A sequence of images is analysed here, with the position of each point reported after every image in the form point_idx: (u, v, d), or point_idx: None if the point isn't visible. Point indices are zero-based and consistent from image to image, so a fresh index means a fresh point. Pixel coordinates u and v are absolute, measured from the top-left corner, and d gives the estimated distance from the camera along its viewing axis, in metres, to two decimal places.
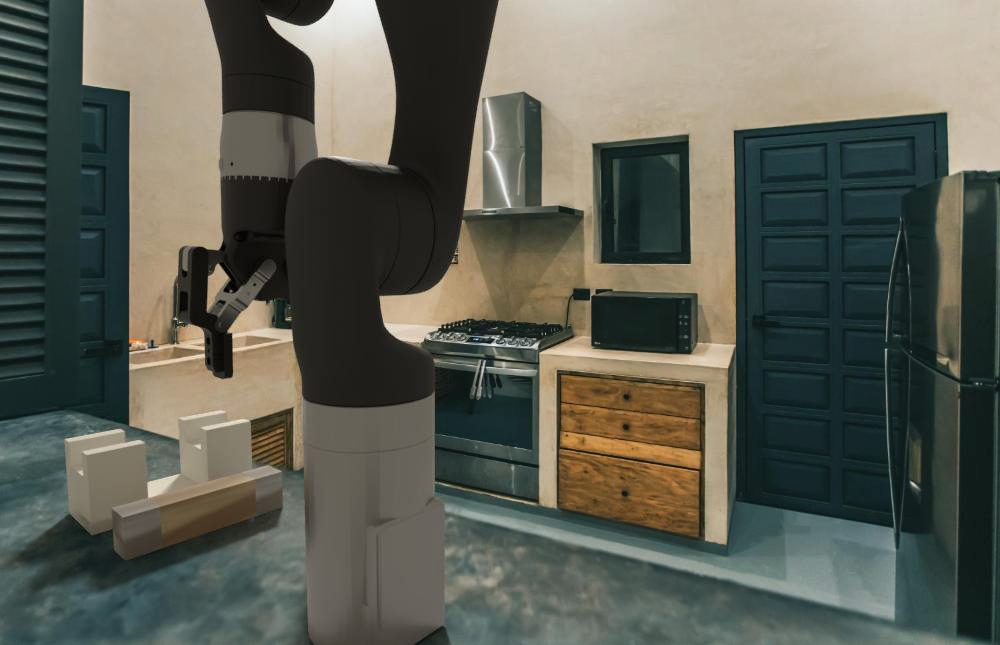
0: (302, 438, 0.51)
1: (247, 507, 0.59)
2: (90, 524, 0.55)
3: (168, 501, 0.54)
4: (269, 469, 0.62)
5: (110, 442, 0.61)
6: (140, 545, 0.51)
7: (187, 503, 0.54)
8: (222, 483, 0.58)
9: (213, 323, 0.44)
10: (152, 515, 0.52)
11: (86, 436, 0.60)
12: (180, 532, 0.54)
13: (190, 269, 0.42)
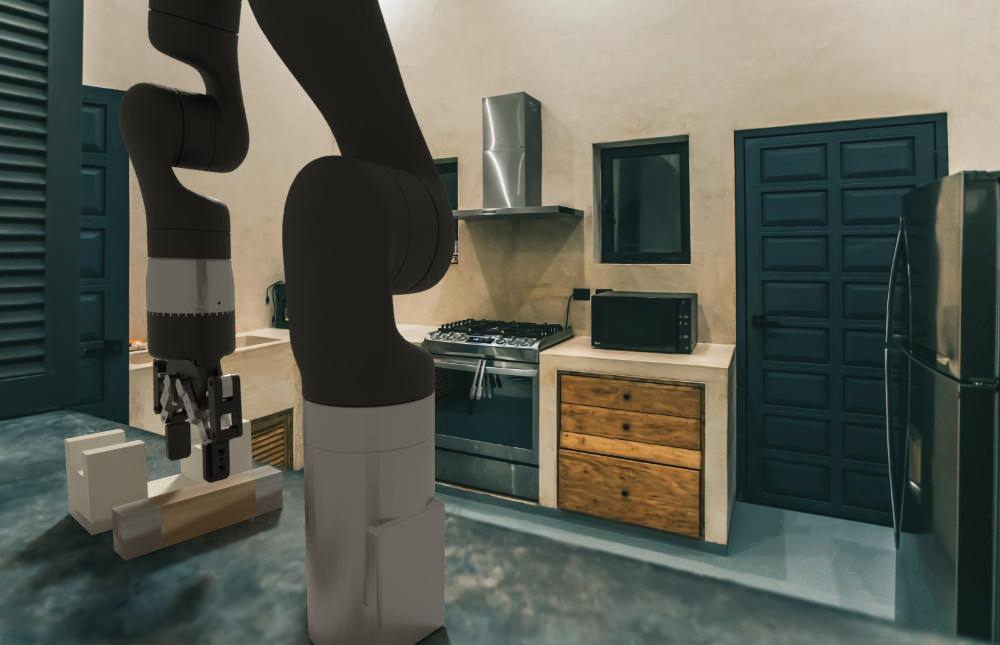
0: (302, 438, 0.51)
1: (247, 507, 0.59)
2: (90, 524, 0.55)
3: (168, 501, 0.54)
4: (269, 469, 0.62)
5: (110, 442, 0.61)
6: (140, 545, 0.51)
7: (187, 503, 0.54)
8: (222, 483, 0.58)
9: None
10: (152, 515, 0.52)
11: (86, 436, 0.60)
12: (180, 532, 0.54)
13: (238, 393, 0.52)
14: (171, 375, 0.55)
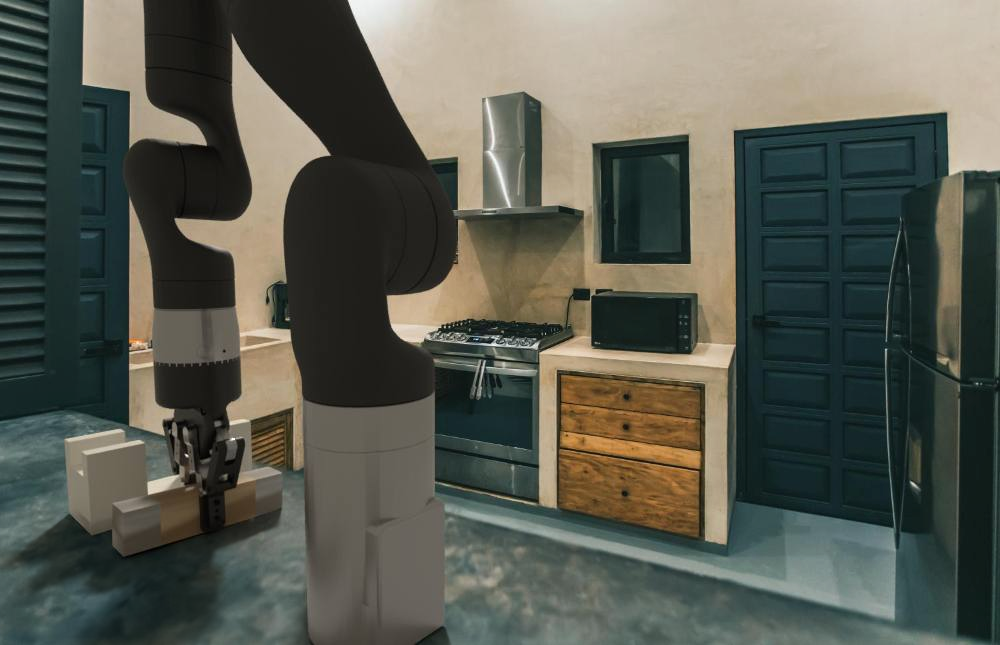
0: (302, 438, 0.51)
1: (247, 507, 0.59)
2: (90, 524, 0.55)
3: (169, 498, 0.54)
4: (270, 471, 0.62)
5: (110, 442, 0.61)
6: (139, 541, 0.51)
7: (188, 501, 0.54)
8: None
9: None
10: (152, 511, 0.52)
11: (86, 436, 0.60)
12: (179, 530, 0.54)
13: (240, 456, 0.53)
14: (177, 421, 0.56)
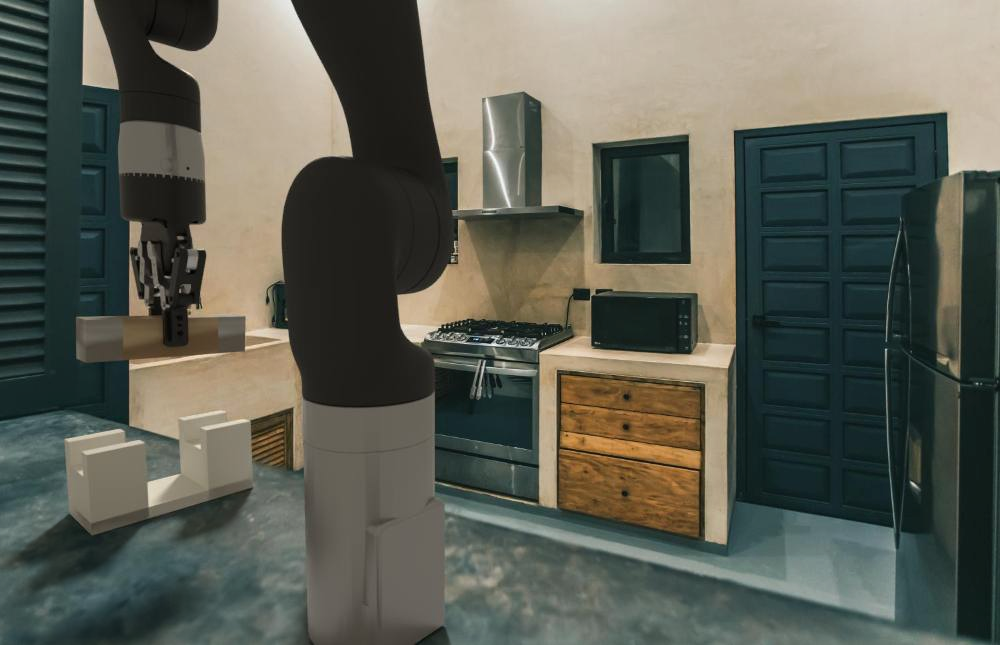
0: (302, 438, 0.51)
1: (209, 342, 0.61)
2: (90, 524, 0.55)
3: (131, 318, 0.56)
4: (233, 315, 0.64)
5: (110, 442, 0.61)
6: (101, 351, 0.54)
7: (150, 323, 0.57)
8: None
9: None
10: (115, 325, 0.54)
11: (86, 436, 0.60)
12: (142, 349, 0.56)
13: (202, 268, 0.56)
14: (142, 240, 0.58)
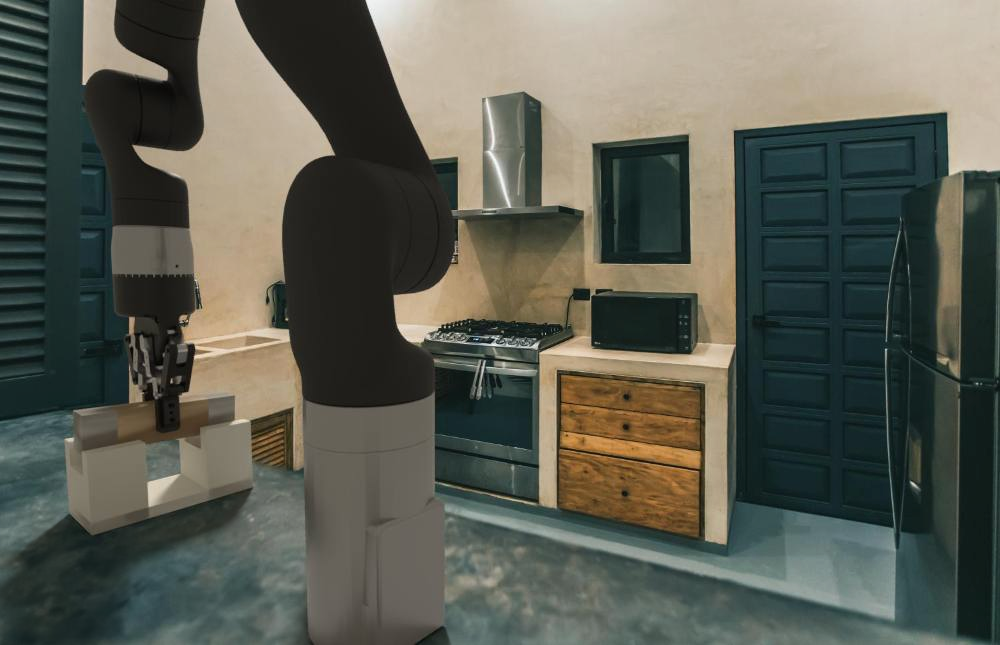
0: (302, 438, 0.51)
1: (200, 423, 0.64)
2: (90, 524, 0.55)
3: (125, 408, 0.59)
4: (223, 394, 0.68)
5: None
6: (97, 443, 0.57)
7: (143, 412, 0.60)
8: None
9: None
10: (109, 418, 0.57)
11: None
12: (135, 437, 0.59)
13: (191, 360, 0.59)
14: (135, 332, 0.61)
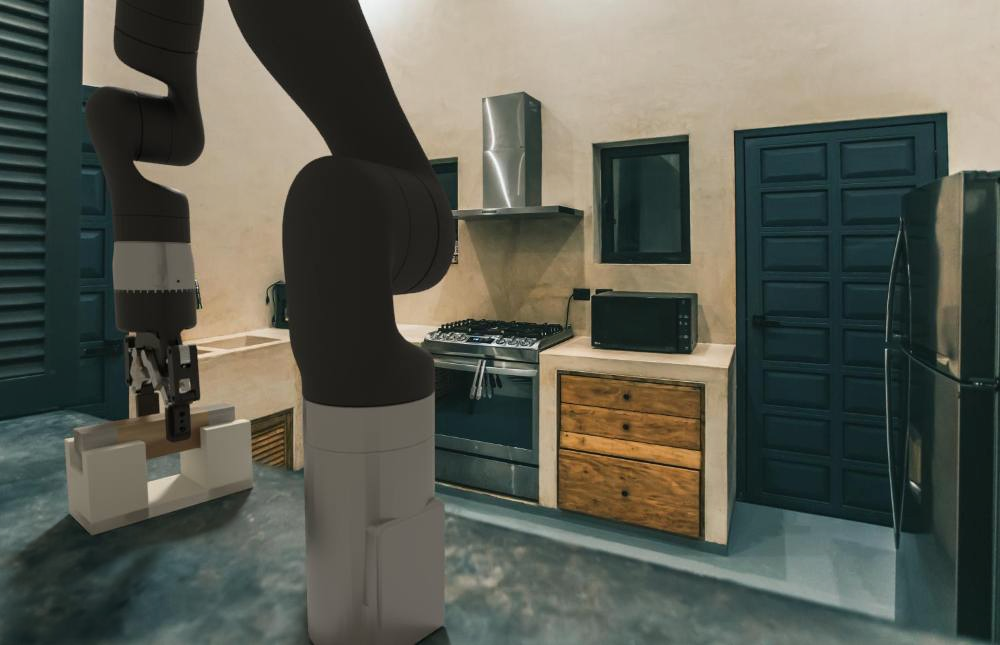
0: (302, 438, 0.51)
1: None
2: (90, 524, 0.55)
3: (125, 424, 0.59)
4: (223, 405, 0.68)
5: None
6: None
7: (143, 427, 0.60)
8: None
9: None
10: (110, 435, 0.58)
11: None
12: None
13: (195, 360, 0.58)
14: (138, 348, 0.61)
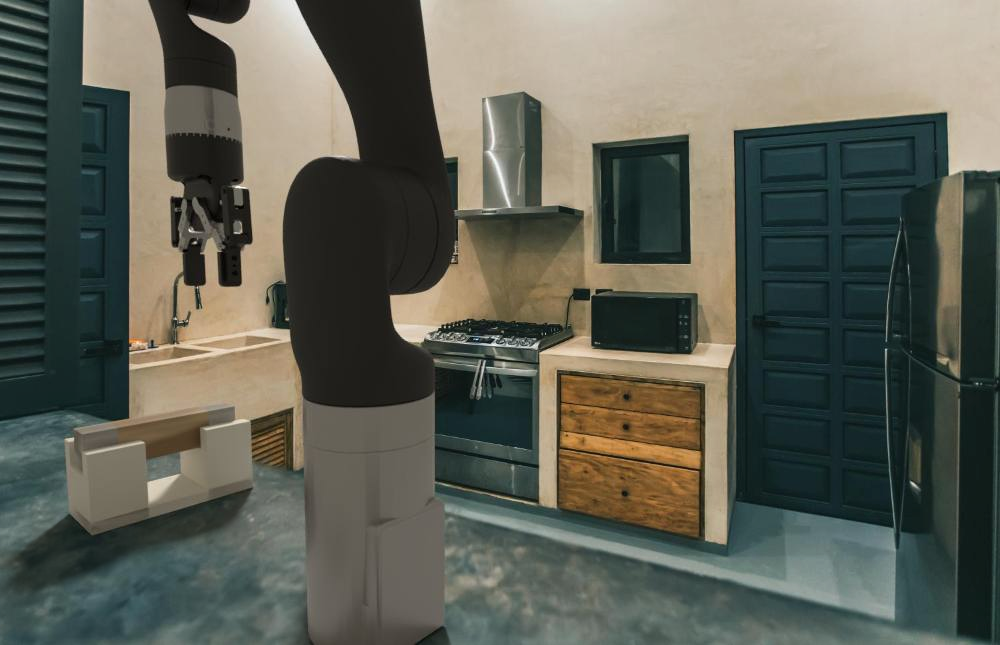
0: (302, 438, 0.51)
1: None
2: (90, 524, 0.55)
3: (125, 424, 0.59)
4: (223, 405, 0.68)
5: None
6: None
7: (143, 427, 0.60)
8: (177, 413, 0.64)
9: None
10: (110, 435, 0.58)
11: None
12: None
13: (248, 203, 0.59)
14: (187, 199, 0.62)
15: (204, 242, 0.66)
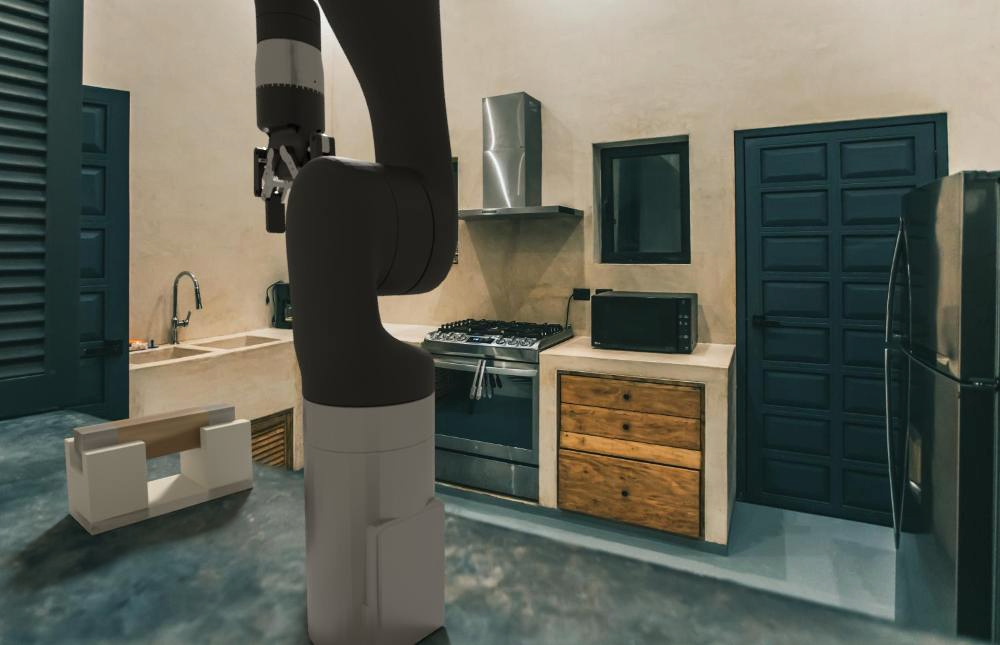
0: (302, 438, 0.51)
1: None
2: (90, 524, 0.55)
3: (125, 424, 0.59)
4: (223, 405, 0.68)
5: None
6: None
7: (143, 427, 0.60)
8: (177, 413, 0.64)
9: None
10: (110, 435, 0.58)
11: None
12: None
13: (333, 151, 0.63)
14: (274, 148, 0.66)
15: (285, 191, 0.70)
